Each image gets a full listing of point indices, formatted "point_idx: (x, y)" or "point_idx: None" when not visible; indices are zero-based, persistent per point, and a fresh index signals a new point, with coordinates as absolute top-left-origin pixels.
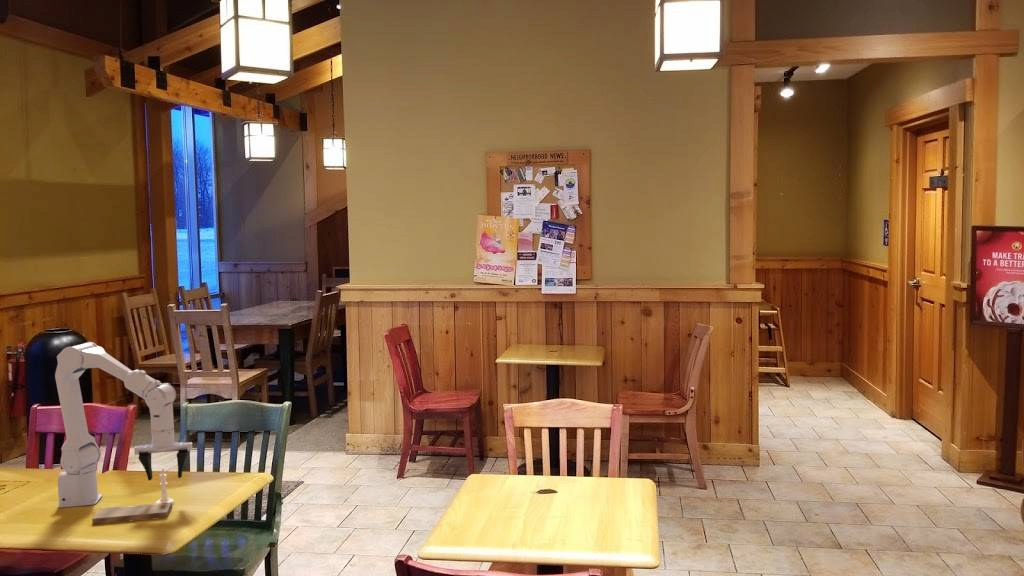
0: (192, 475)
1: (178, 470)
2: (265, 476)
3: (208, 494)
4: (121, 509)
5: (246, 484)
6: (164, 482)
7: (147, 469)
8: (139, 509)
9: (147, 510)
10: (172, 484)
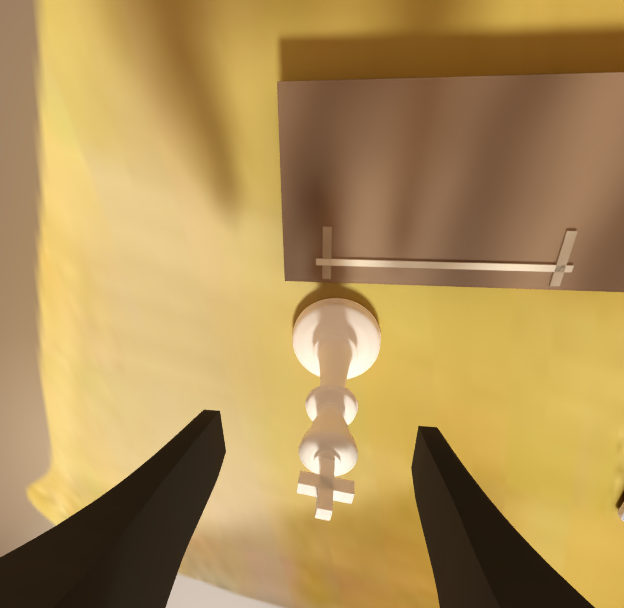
0: (287, 585)
1: (181, 450)
2: (36, 507)
3: (171, 399)
4: (574, 231)
5: (66, 457)
6: (323, 407)
7: (472, 506)
8: (461, 198)
9: (409, 161)
10: (340, 537)
